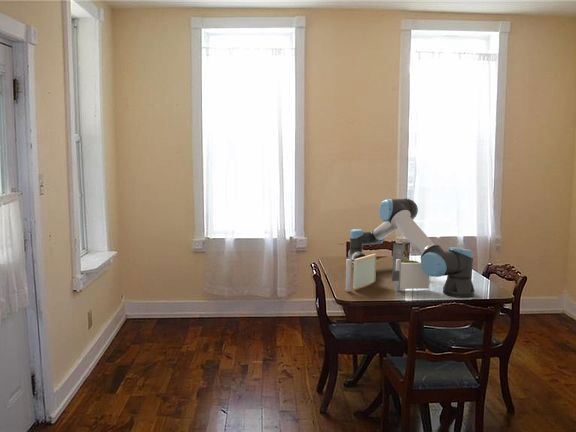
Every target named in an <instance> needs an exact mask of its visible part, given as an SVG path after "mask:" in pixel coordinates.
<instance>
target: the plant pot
mask: <svg viewBox="0 0 576 432" xmlns="http://www.w3.org/2000/svg"><path fill="white" fill-rule="evenodd" d="M402 263H420V261H417V260H411V259H409V260H407V261H402Z"/></svg>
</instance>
